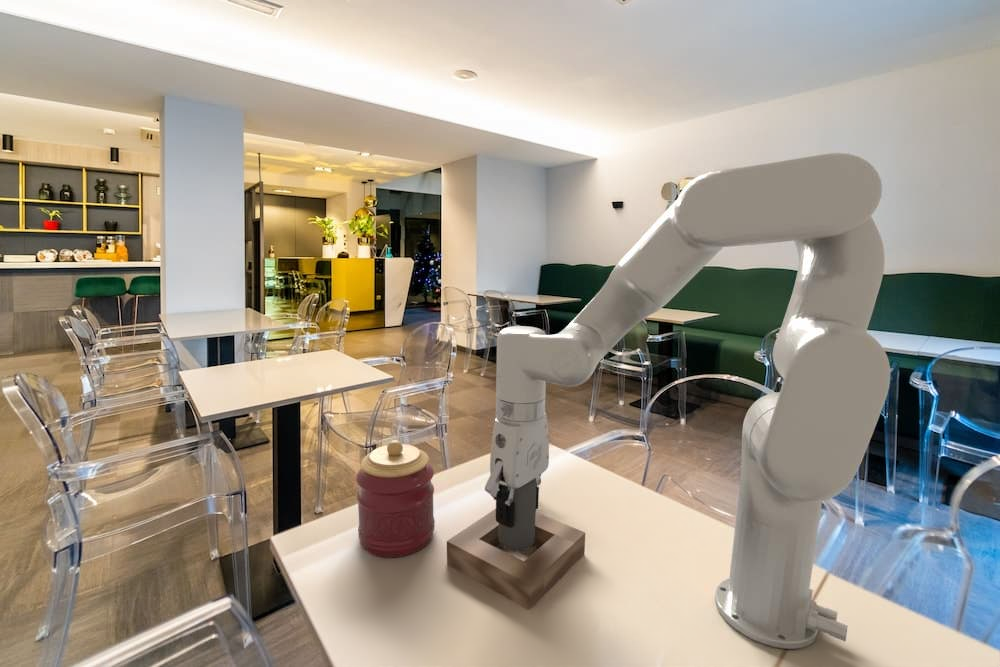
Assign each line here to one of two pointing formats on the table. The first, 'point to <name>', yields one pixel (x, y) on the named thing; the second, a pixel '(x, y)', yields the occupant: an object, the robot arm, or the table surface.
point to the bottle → (521, 519)
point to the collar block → (508, 573)
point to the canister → (395, 500)
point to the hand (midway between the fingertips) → (517, 514)
